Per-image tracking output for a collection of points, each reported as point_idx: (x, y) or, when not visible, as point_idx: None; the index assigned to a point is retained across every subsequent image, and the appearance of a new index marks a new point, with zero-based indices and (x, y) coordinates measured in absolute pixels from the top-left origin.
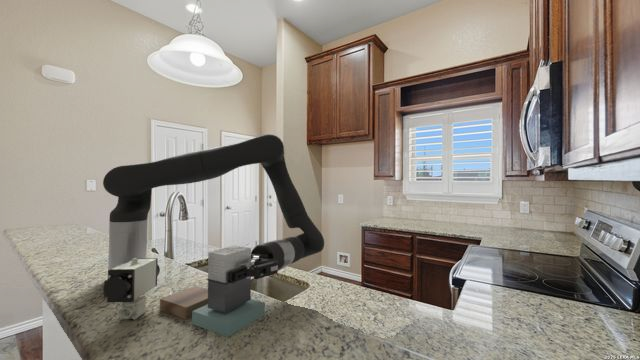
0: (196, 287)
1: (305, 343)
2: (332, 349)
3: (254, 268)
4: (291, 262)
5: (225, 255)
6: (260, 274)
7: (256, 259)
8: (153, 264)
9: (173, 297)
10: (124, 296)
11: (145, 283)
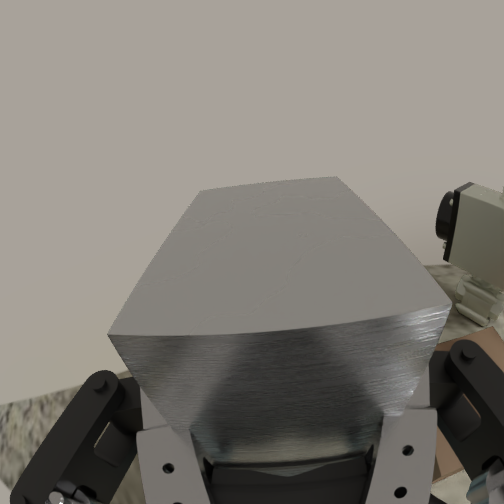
0: None
1: (53, 419)
2: (19, 411)
3: (112, 375)
4: None
5: (201, 193)
6: (120, 448)
7: (145, 483)
8: None
9: (488, 348)
10: (444, 239)
11: (489, 257)
